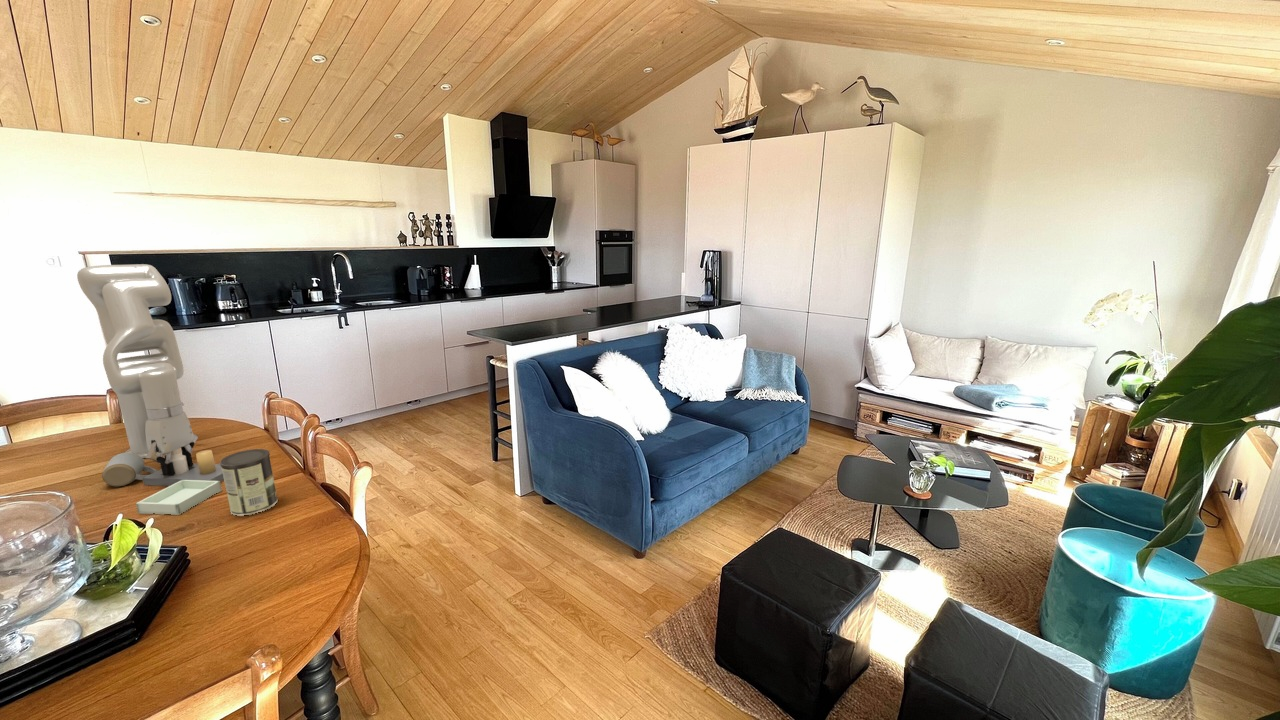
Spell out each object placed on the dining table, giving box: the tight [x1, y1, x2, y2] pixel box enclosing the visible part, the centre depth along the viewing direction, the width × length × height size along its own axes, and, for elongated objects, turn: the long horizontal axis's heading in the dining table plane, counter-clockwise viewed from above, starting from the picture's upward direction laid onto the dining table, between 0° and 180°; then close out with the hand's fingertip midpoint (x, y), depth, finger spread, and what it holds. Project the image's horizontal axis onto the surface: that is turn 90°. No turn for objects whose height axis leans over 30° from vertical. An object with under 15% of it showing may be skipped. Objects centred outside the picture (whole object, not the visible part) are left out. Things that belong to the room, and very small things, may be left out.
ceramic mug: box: [101, 452, 158, 488], centre depth 150 cm, size 11×8×8 cm
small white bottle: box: [170, 448, 189, 475], centre depth 151 cm, size 4×4×10 cm
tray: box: [135, 480, 223, 516], centre depth 139 cm, size 13×11×3 cm
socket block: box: [142, 449, 224, 487], centre depth 151 cm, size 10×20×8 cm, turn 87°
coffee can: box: [219, 448, 279, 517], centre depth 135 cm, size 10×10×14 cm
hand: (178, 469), depth 152 cm, fingers closed on small white bottle, 5 cm apart
